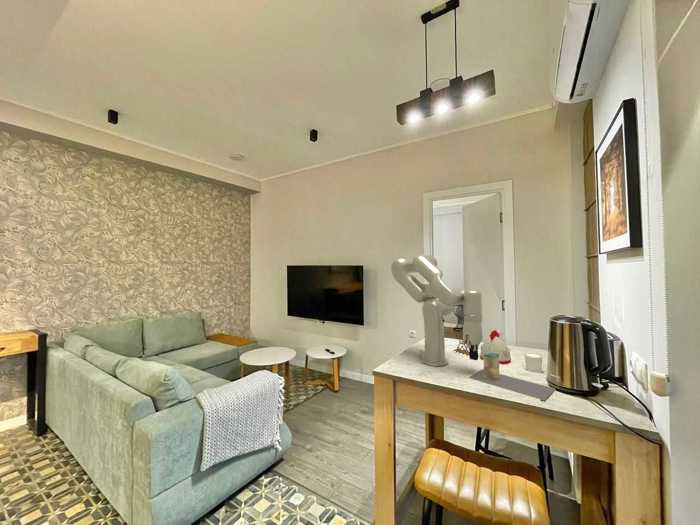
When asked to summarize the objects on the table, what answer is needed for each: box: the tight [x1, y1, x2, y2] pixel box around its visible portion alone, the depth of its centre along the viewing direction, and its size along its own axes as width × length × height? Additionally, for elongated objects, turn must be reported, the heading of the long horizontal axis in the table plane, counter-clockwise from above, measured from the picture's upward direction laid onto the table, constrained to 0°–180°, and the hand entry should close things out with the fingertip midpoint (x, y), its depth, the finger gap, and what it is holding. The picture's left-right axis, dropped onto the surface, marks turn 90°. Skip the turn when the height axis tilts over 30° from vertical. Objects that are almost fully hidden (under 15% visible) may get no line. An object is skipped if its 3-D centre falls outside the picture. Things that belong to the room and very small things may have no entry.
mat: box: [467, 368, 556, 402], centre depth 116 cm, size 28×14×1 cm, turn 41°
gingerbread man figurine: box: [453, 330, 469, 356], centre depth 158 cm, size 9×4×12 cm, turn 34°
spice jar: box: [483, 352, 500, 381], centre depth 122 cm, size 4×4×10 cm
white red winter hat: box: [479, 329, 512, 366], centre depth 146 cm, size 14×14×15 cm
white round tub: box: [524, 352, 543, 374], centre depth 130 cm, size 7×7×7 cm
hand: (473, 359), depth 127 cm, fingers closed
